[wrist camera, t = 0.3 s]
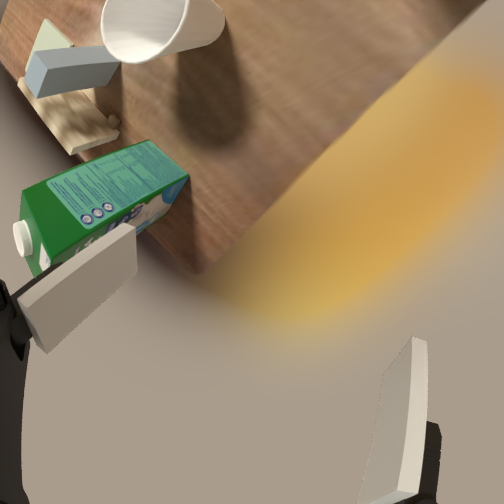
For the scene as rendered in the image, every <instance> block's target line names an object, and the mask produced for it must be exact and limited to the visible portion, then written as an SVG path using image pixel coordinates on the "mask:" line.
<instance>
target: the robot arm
mask: <svg viewBox="0 0 504 504" xmlns="http://www.w3.org/2000/svg"><path fill="white" fill-rule="evenodd" d="M135 274H137V254H136V227H133V226H131V225H129V224H126V223H122V224H121V225H119V226H118V227H116V228H115V229H113V230H111V231H110V232H108V233H107V234H105V235H104V236H102V237H101V238H99V239H98V240H96V241H95V242H94V243H92V244H91V245H89V246H88V247H86V248H85V249H83V250H82V251H80V252H79V253H78V254H76V255H75V256H73V257H72V258H71V259H69V260H68V261H66V262H65V263H63V262H59V263H57V264H54V265H51V266H50V267H48V268H47V269H46V270H44V271H43V273H40V274H39V275H38V276H36V278H33V279H32V280H31V281H29V282H28V283H27V284H26V285H24V286H23V287H22V288H20V289H19V290H18V291H16V292H15V293H14V294H12V295H11V296H10V295H9V293H8V289H7V287H6V284H5V282H4V281H2V280H1V279H0V504H29V500H28V497H27V495H26V493H25V491H24V489H23V486H22V469H21V431H22V411H23V398H24V388H25V379H26V371H27V363H28V356H29V349H30V341H29V339H30V338H31V337H33V338H34V340H35V342H36V344H37V346H38V347H40V348H41V349H42V350H43V351H44V352H45V353H47V354H48V353H49V352H50V351H51V350H52V349H53V348H55V347H56V346H57V345H58V344H59V343H60V342H61V341H62V340H63V339H64V338H65V337H66V336H67V335H68V334H69V333H70V332H72V331H73V330H74V328H76V327H77V326H78V325H79V324H80V323H81V322H82V321H83V320H84V319H86V318H87V317H88V316H89V315H90V314H91V313H92V312H93V311H94V310H95V309H97V308H98V307H99V306H100V305H101V304H102V303H103V302H104V301H106V299H108V298H109V297H110V296H111V295H112V294H113V293H115V292H116V291H117V290H118V289H119V288H120V287H121V286H123V285H124V284H125V283H126V282H127V281H128V280H130V279H131V278H132V277H133V276H134V275H135ZM427 393H428V350H427V341H424V340H422V339H419V338H416V337H413V336H412V337H411V338H410V340H409V341H408V343H407V344H406V346H405V347H404V348H403V349H402V351H401V352H400V353H399V355H398V356H397V358H396V359H395V360H394V362H393V363H392V364H391V365H390V367H389V368H388V369H387V370H386V372H385V373H384V374H383V379H382V386H381V393H380V400H379V406H378V411H377V417H376V422H375V428H374V433H373V438H372V443H371V447H370V452H369V456H368V461H367V465H366V469H365V473H364V477H363V481H362V485H361V489H360V492H359V496H358V500H357V503H356V504H437V503H436V491H437V484H438V475H439V466H440V461H439V460H440V455H441V452H440V450H441V440H442V436H441V433H440V429H439V426H438V424H436V423H432V422H428V421H426V418H427V396H428V394H427Z"/></svg>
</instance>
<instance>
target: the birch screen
mask: <svg viewBox="0 0 504 504" xmlns="http://www.w3.org/2000/svg"><path fill="white" fill-rule="evenodd" d="M24 78H25V77H21V78H19V82H18V86H19V88H20V89H21V90H22V92H23V93H24V95H25V96H26V98H27V99H28V100H29V102H30V103H31V105H32V106H33V107H34V109H35V110H36V111H37V113H38V114H39V115H40V117H41V118H42V120H43V121H44V122H45V123H46V125H47V126H48V128H49V129H50V130H51V131H52V133H53V134H54V135H55V137H56V138H57V139H58V141H59V142H60V143H61V145H62V146H63V147H64V148H65V149H66V151H67V152H68V153H69V155H73V154H76V153H78V152H81V151H84V150H86V149H89V148H92V147H95V146H98V145H101V144H104V143H105V144H108V143H109V142H110V141H113V140H116V139H117V137H118V135H119V133H120V132H119V131H118V130H117V127H118V125H119V123H120V120H119V119H118V118H117V116H116V115H115V114H110V116H109V118H108V119H107V118H106V117H105V116H104V115H103V114H102V113H101V111H100V110H99V109H98V108H97V107H96V106H95V105H94V104H93V103H92V101H91V100H90V99H89V98H88V97H87V96H86V95H85V94H84V93H83V92H82V90H77V91H71V92H66V93H61V94H57V95H52V96H48V97H43V98H39V99H36V98H35V96H34V95H33V93H32V92H31V90H30V89H29V87H28V86H27V85H26V83H25V82H24Z"/></svg>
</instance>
